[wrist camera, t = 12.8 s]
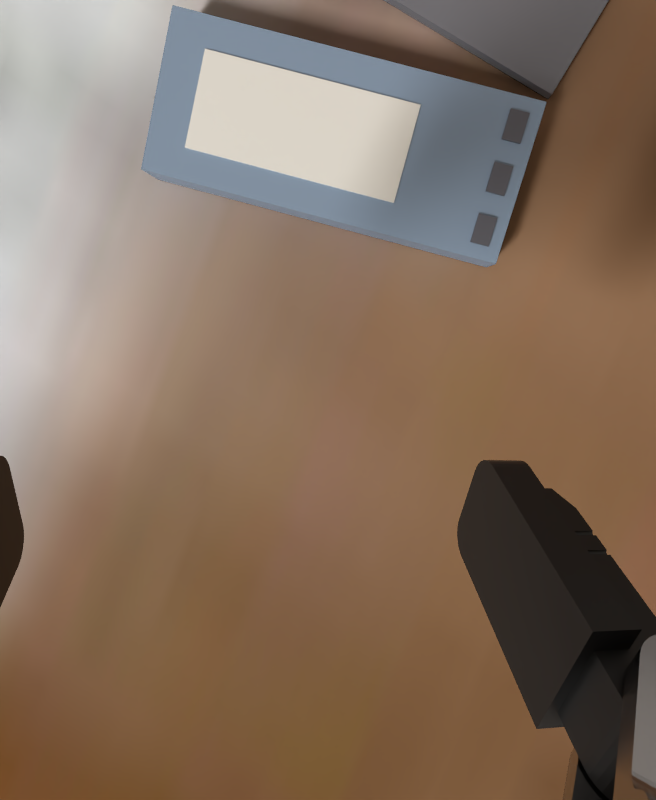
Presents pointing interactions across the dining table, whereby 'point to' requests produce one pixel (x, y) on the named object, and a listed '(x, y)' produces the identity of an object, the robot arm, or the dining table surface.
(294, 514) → the dining table surface
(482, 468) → the robot arm
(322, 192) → the blue panel box
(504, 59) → the mat
